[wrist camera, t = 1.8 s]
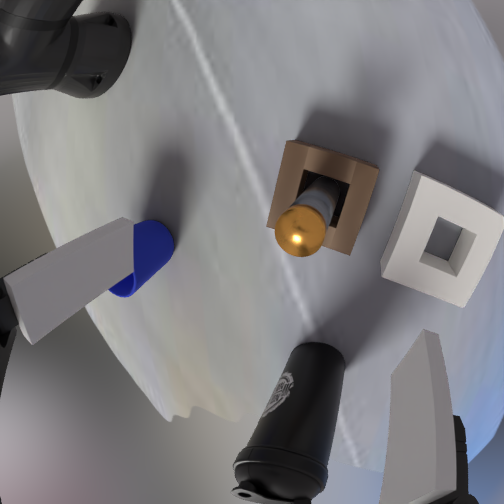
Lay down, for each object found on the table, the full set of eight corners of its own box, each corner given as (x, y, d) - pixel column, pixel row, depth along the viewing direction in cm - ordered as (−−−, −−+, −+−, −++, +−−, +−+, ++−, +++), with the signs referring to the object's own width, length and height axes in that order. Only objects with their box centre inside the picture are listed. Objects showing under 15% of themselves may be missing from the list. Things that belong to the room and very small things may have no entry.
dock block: (380, 260, 30) (381, 277, 27) (413, 169, 25) (421, 175, 22) (455, 290, 28) (463, 308, 25) (493, 208, 23) (507, 218, 19)
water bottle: (302, 326, 38) (236, 478, 18) (364, 356, 36) (336, 511, 17) (274, 367, 43) (211, 492, 23) (329, 393, 41) (289, 521, 22)
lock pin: (307, 200, 31) (269, 247, 19) (315, 172, 29) (281, 201, 18) (335, 209, 30) (315, 263, 18) (343, 181, 29) (330, 218, 17)
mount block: (277, 215, 33) (266, 226, 30) (295, 139, 29) (286, 140, 25) (351, 241, 31) (349, 255, 28) (376, 165, 27) (379, 169, 23)
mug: (119, 242, 44) (75, 268, 36) (158, 202, 38) (106, 225, 30) (147, 282, 45) (107, 314, 37) (191, 249, 39) (146, 283, 31)
